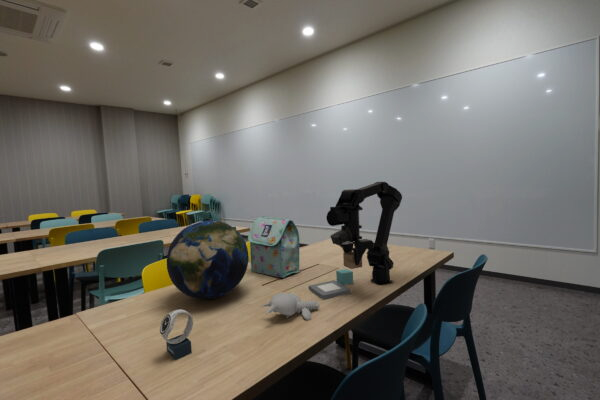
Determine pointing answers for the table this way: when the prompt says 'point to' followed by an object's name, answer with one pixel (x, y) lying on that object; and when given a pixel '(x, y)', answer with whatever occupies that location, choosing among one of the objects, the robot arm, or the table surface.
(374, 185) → the robot arm
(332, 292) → the baseplate
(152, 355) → the table surface
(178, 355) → the watch
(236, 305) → the table surface
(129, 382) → the table surface
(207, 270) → the globe
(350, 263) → the walnut block
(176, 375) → the table surface
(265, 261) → the lunch bag
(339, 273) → the teal block
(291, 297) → the toy creature
